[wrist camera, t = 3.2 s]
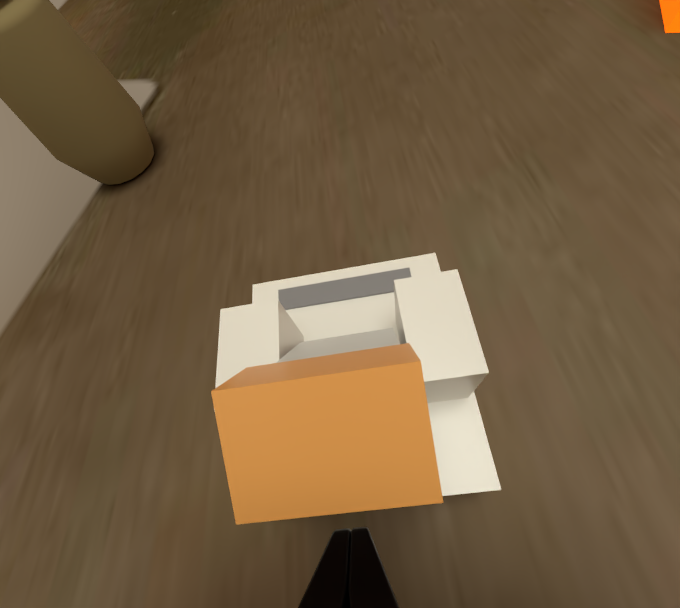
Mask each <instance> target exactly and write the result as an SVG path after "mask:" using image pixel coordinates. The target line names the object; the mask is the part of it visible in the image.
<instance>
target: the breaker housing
mask: <svg viewBox="0 0 680 608" xmlns="http://www.w3.org/2000/svg"><path fill="white" fill-rule="evenodd" d="M389 328H393V330H394V332H395V335H396V337H397V339H398V341H399V343H400V344H405V343H409V344H410V345H411V347H412V348H413V350H414V351H415V353H416V354H417V356H418V358H419V359H420V361H421V366H422V372H423V378H424V385H425V391H426V397H427V403H428V410H429V416H430V422H431V428H432V435H433V441H434V447H435V453H436V460H437V466H438V472H439V478H440V485H441V491H442V496H447V495H457V494H466V493H475V492H485V491H494V490H501V487H500V483H499V480H498V476H497V473H496V469H495V465H494V462H493V458H492V455H491V451H490V447H489V444H488V440H487V437H486V433H485V429H484V426H483V422H482V419H481V415H480V411H479V408H478V404H477V401H476V397H475V393H474V390H475V389H476V388H477V387H478V385H479V384H480V383H481V382H482V381H483V379H484V378H485V377H486V376H487V375H488V373H489V371H488V368H487V365H486V361H485V358H484V355H483V352H482V348H481V345H480V342H479V338H478V335H477V332H476V329H475V325H474V322H473V319H472V316H471V312H470V309H469V306H468V303H467V299H466V296H465V293H464V289H463V286H462V283H461V280H460V276H459V273H458V270H457V269H456V270H450V271H445V272H441V271H440V268H439V264H438V260H437V257H436V253H432V254H426V255H420V256H415V257H409V258H403V259H397V260H392V261H386V262H380V263H374V264H369V265H363V266H357V267H352V268H346V269H340V270H334V271H329V272H323V273H317V274H311V275H306V276H300V277H294V278H288V279H283V280H277V281H271V282H266V283H260V284H254V285H253V298H252V304H249V305H243V306H237V307H231V308H225V309H221V311H220V326H219V342H218V357H217V372H216V388H217V387H218V386H220V385H221V384H223V383H224V382H226V381H227V380H229V379H230V378H232V377H233V376H235V375H236V374H238V373H239V372H241V371H242V370H243V369H245V368H246V367H253V366H259V365H266V364H272V363H276V362H277V361H279V360H280V359H281V358H282V357H283V356H284V355H286V354H287V353H288V352H289V351H290V350H292V349H293V348H294V347H295V346H296V345H298V344H299V343H300V342H305V341H311V340H318V339H324V338H331V337H337V336H344V335H350V334H356V333H363V332H369V331H376V330H382V329H389ZM214 411H215V409H214Z"/></svg>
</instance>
